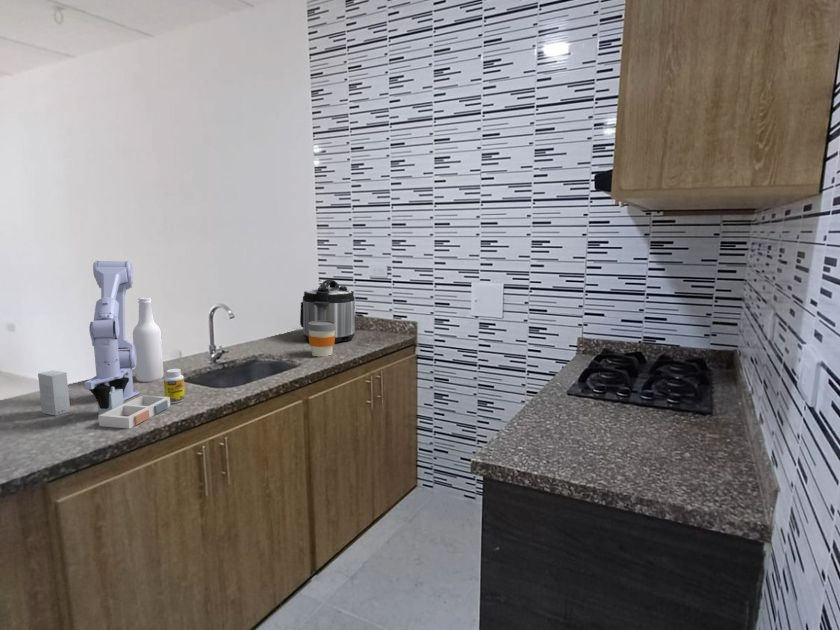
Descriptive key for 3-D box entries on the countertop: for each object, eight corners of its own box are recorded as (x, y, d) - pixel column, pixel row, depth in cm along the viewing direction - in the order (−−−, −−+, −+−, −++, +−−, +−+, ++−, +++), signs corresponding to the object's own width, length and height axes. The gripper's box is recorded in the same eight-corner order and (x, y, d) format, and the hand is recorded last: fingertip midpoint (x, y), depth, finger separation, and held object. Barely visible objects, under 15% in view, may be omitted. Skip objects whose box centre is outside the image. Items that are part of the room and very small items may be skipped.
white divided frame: (99, 426, 123) (98, 415, 123) (143, 404, 140) (142, 395, 140) (131, 428, 122) (130, 418, 122) (172, 406, 139) (171, 397, 139)
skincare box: (71, 411, 133) (67, 372, 131) (55, 416, 129) (51, 376, 127) (57, 408, 135) (53, 369, 133) (41, 413, 131) (36, 373, 129)
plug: (98, 415, 130) (96, 388, 129) (110, 410, 135) (108, 384, 133) (112, 417, 130) (110, 389, 128) (124, 411, 134) (122, 385, 133)
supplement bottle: (166, 405, 140) (164, 373, 138) (164, 399, 145) (162, 369, 143) (186, 402, 143) (184, 371, 141) (183, 397, 148) (182, 367, 146)
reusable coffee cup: (327, 359, 199) (327, 326, 197) (302, 356, 203) (302, 323, 200) (340, 353, 211) (340, 321, 208) (317, 350, 215) (317, 319, 212)
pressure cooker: (332, 331, 261) (332, 276, 256) (367, 338, 243) (368, 280, 238) (288, 338, 237) (287, 278, 232) (323, 347, 220) (323, 283, 215)
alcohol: (133, 383, 159) (126, 299, 154) (139, 376, 168) (133, 296, 163) (161, 381, 162) (155, 299, 157) (166, 374, 170) (161, 296, 166)
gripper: (99, 367, 122) (103, 415, 124) (138, 354, 136) (141, 397, 138) (75, 366, 123) (80, 413, 125) (117, 353, 137) (120, 396, 139)
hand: (111, 405), depth 132 cm, fingers closed on plug, 4 cm apart
